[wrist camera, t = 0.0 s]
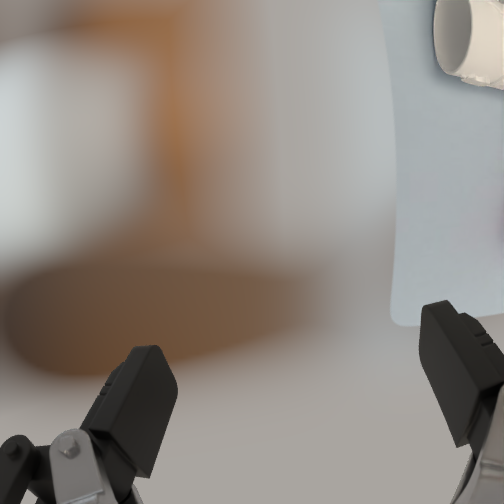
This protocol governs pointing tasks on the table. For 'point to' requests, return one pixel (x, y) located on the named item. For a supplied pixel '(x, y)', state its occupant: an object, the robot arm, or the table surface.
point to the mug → (471, 40)
